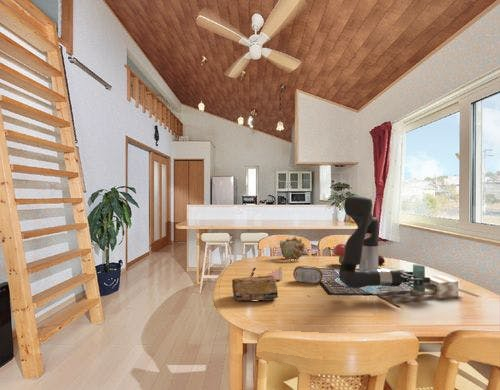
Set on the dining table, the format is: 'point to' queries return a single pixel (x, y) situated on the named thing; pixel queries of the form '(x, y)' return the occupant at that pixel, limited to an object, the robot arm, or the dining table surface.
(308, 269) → the tin
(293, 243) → the olive rough rounded lump
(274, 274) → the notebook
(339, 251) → the decorative mushroom
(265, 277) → the petrified wood
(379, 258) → the potato
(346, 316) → the dining table surface
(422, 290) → the block with teal grip
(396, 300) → the tunnel track
